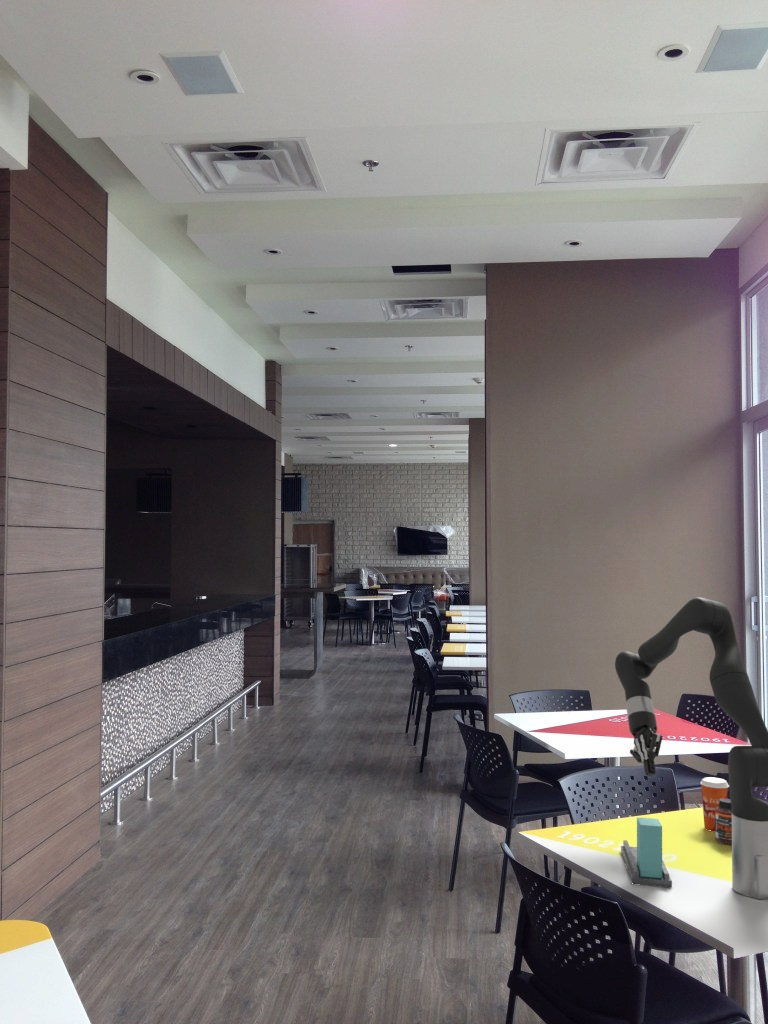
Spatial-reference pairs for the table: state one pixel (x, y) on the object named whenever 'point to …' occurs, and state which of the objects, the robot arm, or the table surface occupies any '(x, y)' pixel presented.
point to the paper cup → (712, 798)
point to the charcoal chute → (631, 864)
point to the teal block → (649, 847)
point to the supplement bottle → (723, 822)
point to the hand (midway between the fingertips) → (650, 774)
